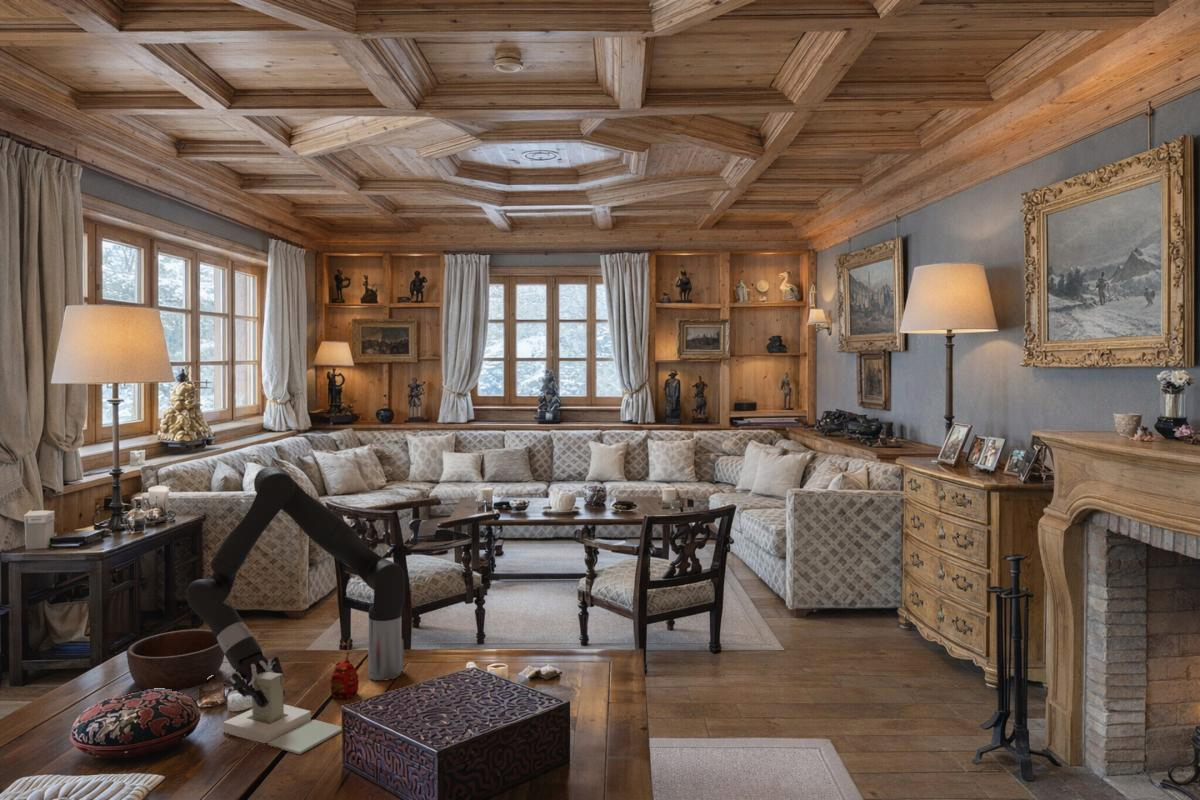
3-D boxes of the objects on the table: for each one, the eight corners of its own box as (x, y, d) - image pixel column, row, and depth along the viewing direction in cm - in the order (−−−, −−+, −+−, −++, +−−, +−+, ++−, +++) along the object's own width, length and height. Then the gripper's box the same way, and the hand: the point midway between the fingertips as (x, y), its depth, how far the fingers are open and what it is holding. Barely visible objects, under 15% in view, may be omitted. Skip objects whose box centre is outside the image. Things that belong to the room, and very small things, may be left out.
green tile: (313, 721, 192) (313, 719, 192) (344, 729, 188) (344, 727, 188) (268, 745, 179) (268, 742, 179) (299, 754, 175) (299, 751, 175)
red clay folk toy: (324, 698, 206) (325, 643, 206) (340, 688, 213) (340, 635, 213) (349, 702, 204) (349, 646, 204) (364, 692, 211) (364, 637, 211)
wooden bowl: (157, 703, 202) (157, 664, 202) (108, 683, 215) (108, 646, 215) (244, 673, 224) (244, 638, 223) (195, 657, 237) (195, 623, 237)
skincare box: (284, 722, 190) (285, 673, 190) (271, 730, 186) (271, 679, 186) (264, 718, 192) (264, 669, 192) (250, 725, 188) (251, 676, 188)
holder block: (270, 710, 199) (270, 700, 198) (310, 721, 193) (310, 711, 193) (223, 732, 186) (223, 722, 186) (264, 744, 180) (264, 733, 180)
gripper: (221, 645, 186) (257, 704, 181) (269, 628, 199) (304, 682, 194) (206, 663, 188) (241, 721, 183) (255, 645, 201) (288, 699, 196)
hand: (273, 701), depth 188 cm, fingers closed on skincare box, 4 cm apart
